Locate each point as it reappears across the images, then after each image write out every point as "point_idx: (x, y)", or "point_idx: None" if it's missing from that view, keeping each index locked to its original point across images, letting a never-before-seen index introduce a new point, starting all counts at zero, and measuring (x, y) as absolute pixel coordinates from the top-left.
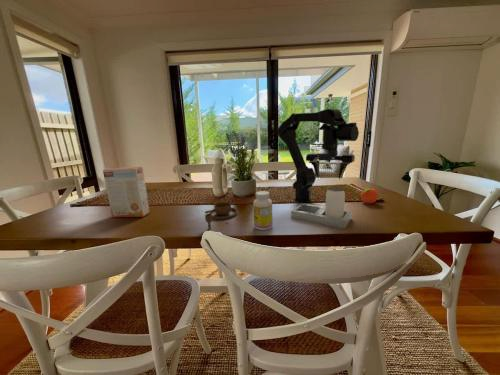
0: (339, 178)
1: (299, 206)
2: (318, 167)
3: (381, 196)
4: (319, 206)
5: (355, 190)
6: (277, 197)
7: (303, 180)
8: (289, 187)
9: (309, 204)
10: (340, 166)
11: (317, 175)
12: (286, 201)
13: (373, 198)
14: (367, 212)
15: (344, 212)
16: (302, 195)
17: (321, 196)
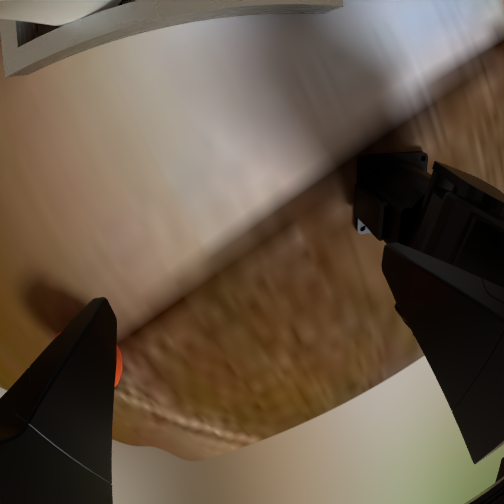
0: (95, 299)
1: None
2: (450, 361)
3: (116, 409)
4: (200, 3)
5: (222, 421)
6: (490, 155)
7: (475, 186)
8: None
9: (282, 3)
10: (10, 434)
11: (399, 250)
12: (446, 114)
13: None
14: (21, 217)
15: (34, 41)
16: (403, 172)
17: (318, 298)
